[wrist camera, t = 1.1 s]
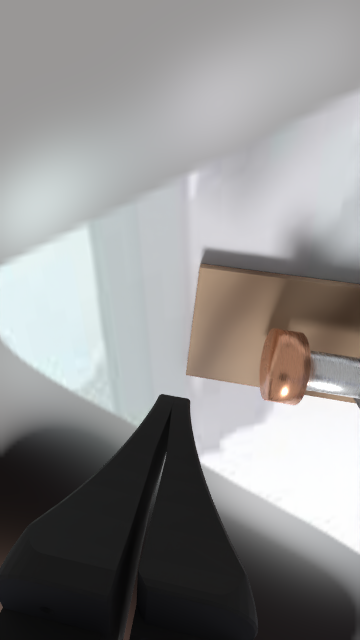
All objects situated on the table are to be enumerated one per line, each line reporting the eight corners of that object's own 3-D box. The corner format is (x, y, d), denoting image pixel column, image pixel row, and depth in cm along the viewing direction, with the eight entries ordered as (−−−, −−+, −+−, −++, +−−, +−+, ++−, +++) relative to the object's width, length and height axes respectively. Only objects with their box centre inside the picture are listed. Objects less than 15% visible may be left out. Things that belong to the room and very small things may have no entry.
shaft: (403, 335, 17) (458, 380, 13) (373, 389, 19) (413, 442, 15) (271, 316, 17) (285, 354, 13) (256, 370, 19) (265, 416, 15)
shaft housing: (516, 304, 17) (676, 369, 11) (439, 408, 21) (524, 497, 15) (200, 263, 18) (190, 300, 13) (187, 367, 23) (174, 432, 17)
